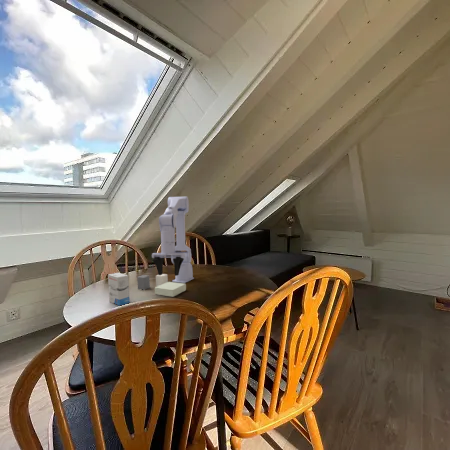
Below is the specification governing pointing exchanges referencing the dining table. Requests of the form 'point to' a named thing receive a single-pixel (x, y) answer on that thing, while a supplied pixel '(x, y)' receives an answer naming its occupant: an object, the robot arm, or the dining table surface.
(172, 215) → the robot arm
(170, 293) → the sage board
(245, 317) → the dining table surface
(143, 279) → the grey rectangular prism
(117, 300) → the ink box
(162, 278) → the off-white pillar
